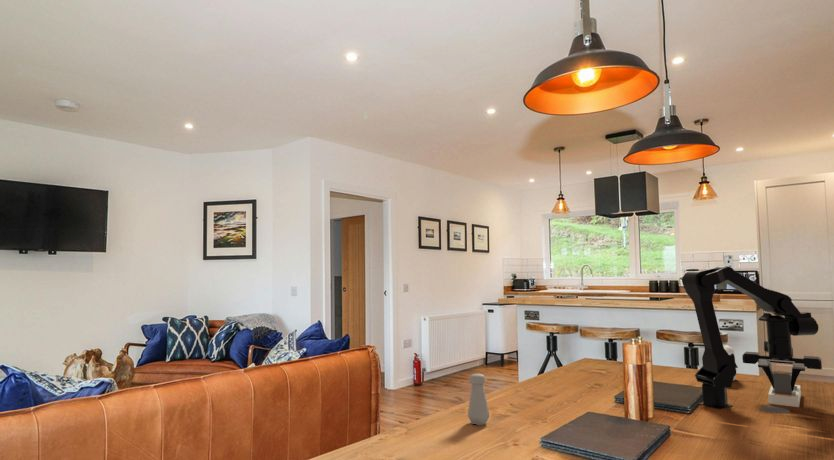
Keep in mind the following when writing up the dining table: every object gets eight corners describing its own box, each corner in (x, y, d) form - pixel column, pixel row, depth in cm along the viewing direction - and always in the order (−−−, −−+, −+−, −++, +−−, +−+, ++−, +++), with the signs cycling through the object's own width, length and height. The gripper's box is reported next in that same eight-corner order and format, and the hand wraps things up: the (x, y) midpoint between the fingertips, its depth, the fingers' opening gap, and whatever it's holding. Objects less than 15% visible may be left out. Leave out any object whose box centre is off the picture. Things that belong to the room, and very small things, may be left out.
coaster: (780, 416, 133) (780, 414, 133) (753, 409, 139) (753, 408, 139) (795, 412, 136) (795, 410, 136) (768, 406, 142) (768, 404, 142)
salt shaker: (491, 421, 135) (489, 372, 136) (487, 427, 129) (485, 376, 130) (470, 419, 137) (469, 371, 138) (465, 425, 131) (464, 375, 132)
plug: (792, 393, 146) (790, 371, 146) (791, 396, 143) (789, 374, 143) (775, 391, 148) (774, 370, 149) (774, 394, 145) (773, 372, 146)
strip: (799, 408, 140) (796, 382, 140) (768, 404, 144) (766, 379, 145) (802, 385, 165) (800, 364, 166) (776, 382, 170) (774, 362, 170)
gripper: (819, 335, 147) (824, 388, 146) (744, 331, 159) (748, 380, 158) (819, 339, 139) (824, 396, 137) (740, 335, 150) (744, 387, 149)
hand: (783, 389), depth 146 cm, fingers closed on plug, 4 cm apart
